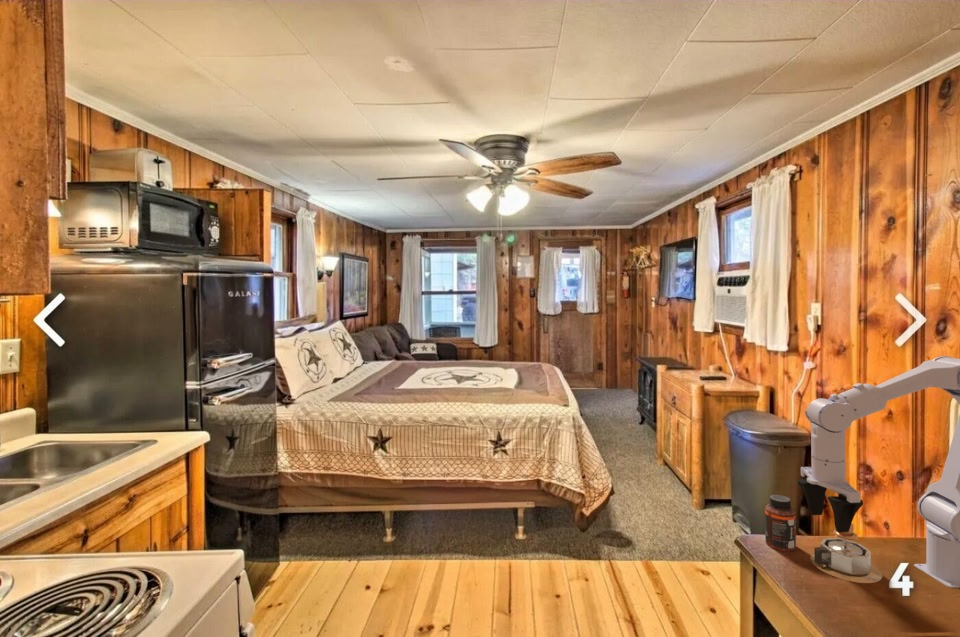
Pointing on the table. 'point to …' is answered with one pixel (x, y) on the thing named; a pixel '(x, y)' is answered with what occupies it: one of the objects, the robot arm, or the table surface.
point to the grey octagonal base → (845, 563)
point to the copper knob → (845, 543)
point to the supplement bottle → (780, 524)
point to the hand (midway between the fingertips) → (828, 522)
